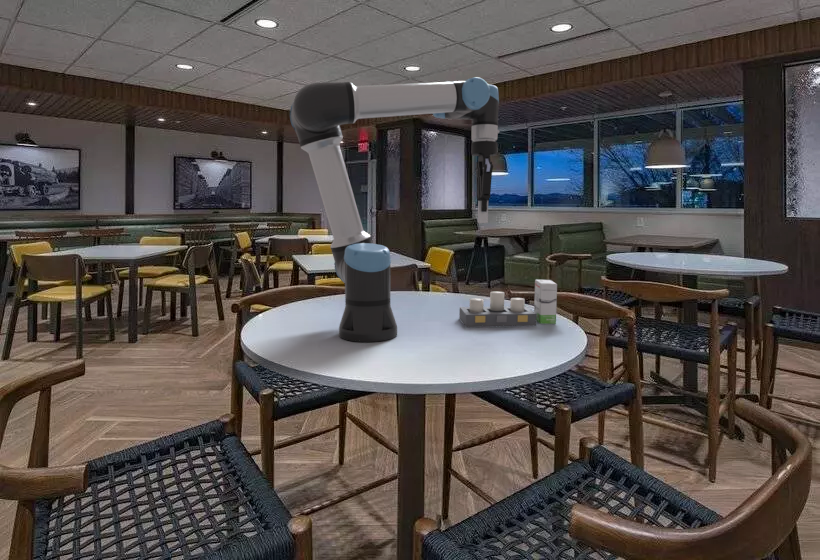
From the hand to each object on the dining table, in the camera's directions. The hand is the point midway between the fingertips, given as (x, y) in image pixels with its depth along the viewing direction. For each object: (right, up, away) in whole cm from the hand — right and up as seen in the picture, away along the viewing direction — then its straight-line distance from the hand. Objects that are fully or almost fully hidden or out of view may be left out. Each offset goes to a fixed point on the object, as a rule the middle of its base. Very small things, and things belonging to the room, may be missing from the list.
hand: (482, 222), depth 154 cm
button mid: (+4, -26, -4) cm, 26 cm away
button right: (+10, -27, -4) cm, 29 cm away
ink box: (+18, -29, -2) cm, 34 cm away
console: (+4, -29, -4) cm, 30 cm away
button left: (-2, -28, -4) cm, 28 cm away
